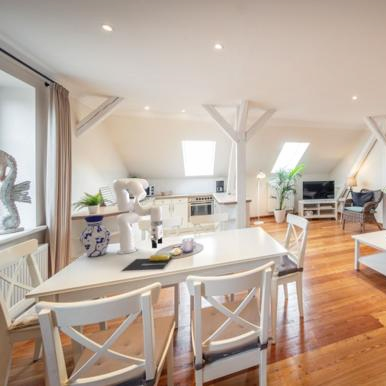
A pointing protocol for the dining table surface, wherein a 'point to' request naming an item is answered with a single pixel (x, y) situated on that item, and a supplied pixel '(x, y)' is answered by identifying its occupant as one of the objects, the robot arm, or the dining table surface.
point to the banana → (159, 257)
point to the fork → (152, 264)
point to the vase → (95, 237)
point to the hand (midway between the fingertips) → (157, 245)
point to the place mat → (137, 266)
